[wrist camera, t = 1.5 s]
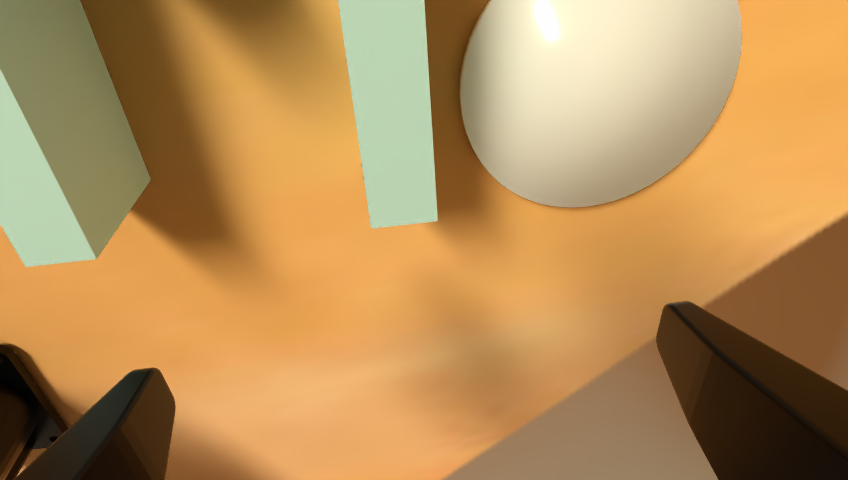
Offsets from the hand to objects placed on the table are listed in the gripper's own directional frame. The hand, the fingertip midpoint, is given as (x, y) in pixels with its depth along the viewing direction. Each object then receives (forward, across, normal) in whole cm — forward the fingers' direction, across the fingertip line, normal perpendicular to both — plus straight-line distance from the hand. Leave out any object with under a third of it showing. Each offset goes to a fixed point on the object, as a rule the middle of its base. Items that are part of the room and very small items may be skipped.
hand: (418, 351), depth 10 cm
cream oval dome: (+12, -8, 0) cm, 14 cm away
